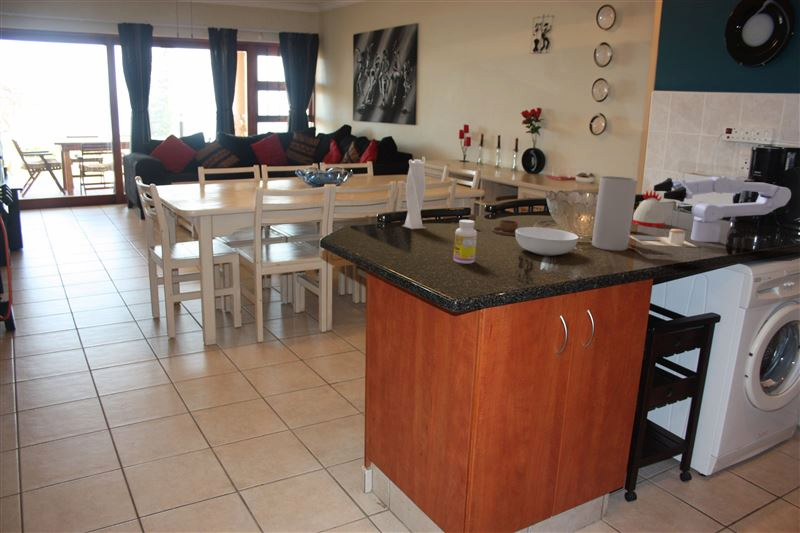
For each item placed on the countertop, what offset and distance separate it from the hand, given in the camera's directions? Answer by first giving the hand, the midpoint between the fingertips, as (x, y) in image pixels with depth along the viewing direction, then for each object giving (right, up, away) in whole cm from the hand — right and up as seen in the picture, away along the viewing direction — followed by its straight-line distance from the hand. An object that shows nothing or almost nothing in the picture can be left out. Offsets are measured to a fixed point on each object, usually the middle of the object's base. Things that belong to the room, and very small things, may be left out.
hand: (659, 191), depth 240 cm
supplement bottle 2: (-8, -15, +19) cm, 25 cm away
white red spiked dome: (+14, -9, +46) cm, 49 cm away
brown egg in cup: (+5, -19, -2) cm, 20 cm away
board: (+1, -20, +1) cm, 20 cm away
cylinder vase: (-22, -21, -9) cm, 32 cm away
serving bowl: (-48, -24, -22) cm, 58 cm away
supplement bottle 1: (-78, -27, -41) cm, 92 cm away
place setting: (-58, -15, +11) cm, 61 cm away
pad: (-4, -17, +3) cm, 18 cm away
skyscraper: (-92, -13, +9) cm, 94 cm away
